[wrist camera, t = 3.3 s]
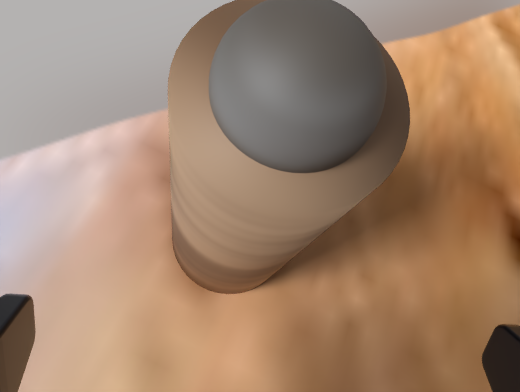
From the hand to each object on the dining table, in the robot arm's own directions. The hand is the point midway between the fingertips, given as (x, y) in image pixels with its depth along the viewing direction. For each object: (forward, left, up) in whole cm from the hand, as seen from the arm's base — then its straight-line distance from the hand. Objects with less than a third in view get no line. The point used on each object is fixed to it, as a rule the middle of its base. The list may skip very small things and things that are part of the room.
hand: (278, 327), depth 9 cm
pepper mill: (+4, +2, -12) cm, 13 cm away
